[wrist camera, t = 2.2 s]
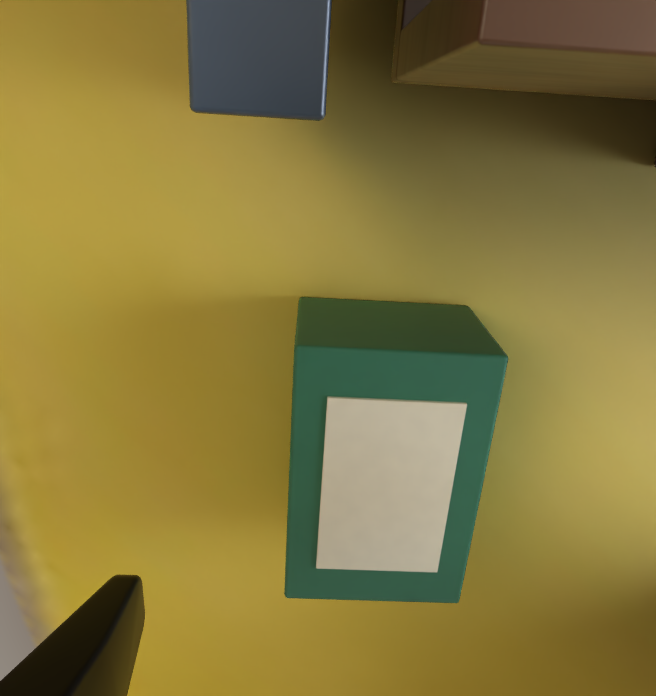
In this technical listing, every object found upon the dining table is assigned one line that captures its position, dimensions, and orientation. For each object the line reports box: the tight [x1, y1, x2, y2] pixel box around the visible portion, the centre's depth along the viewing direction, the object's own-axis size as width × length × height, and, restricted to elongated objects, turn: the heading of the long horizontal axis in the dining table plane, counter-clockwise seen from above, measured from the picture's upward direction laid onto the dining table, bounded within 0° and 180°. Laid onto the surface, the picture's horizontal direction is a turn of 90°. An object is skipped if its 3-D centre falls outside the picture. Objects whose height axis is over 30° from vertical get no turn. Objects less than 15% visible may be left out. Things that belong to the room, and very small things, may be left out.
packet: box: [284, 297, 508, 603], centre depth 13 cm, size 6×4×3 cm, turn 177°
